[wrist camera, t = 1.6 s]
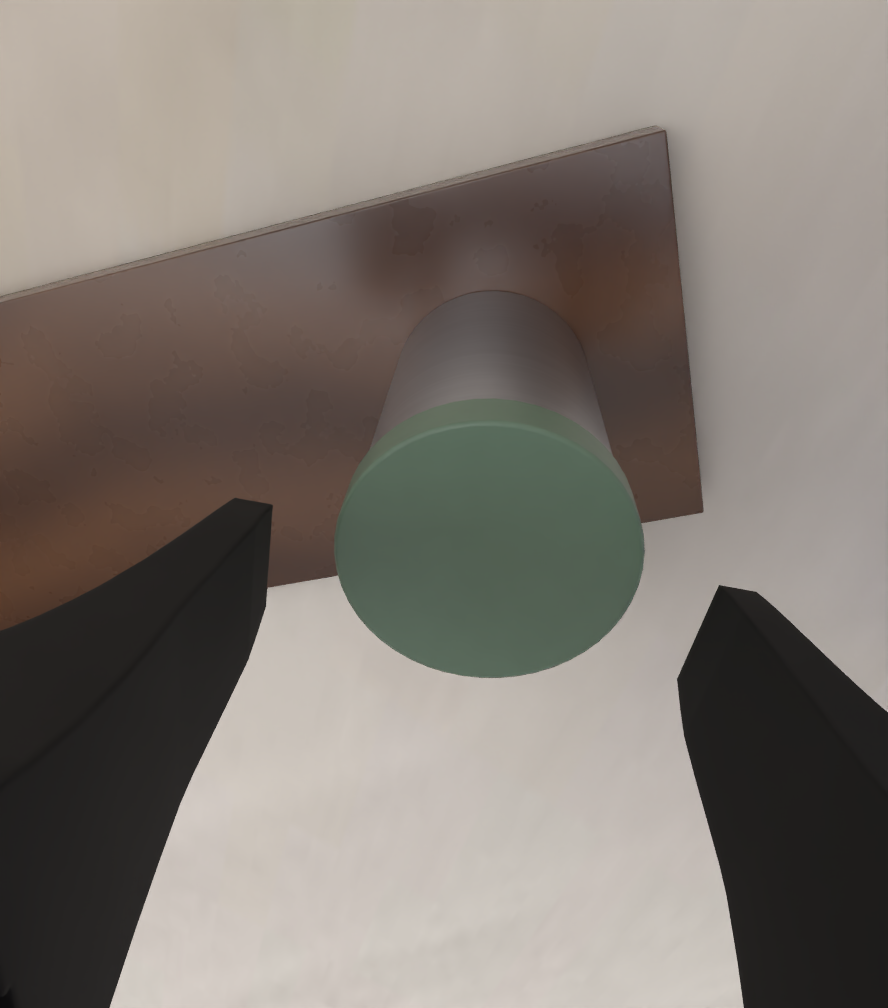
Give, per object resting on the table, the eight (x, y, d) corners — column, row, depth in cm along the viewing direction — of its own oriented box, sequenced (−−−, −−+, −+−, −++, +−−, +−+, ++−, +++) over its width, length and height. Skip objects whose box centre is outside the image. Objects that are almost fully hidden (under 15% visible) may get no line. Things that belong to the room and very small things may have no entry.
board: (694, 492, 23) (704, 513, 22) (-12, 617, 27) (-32, 639, 26) (656, 124, 18) (666, 129, 17) (-195, 346, 22) (-229, 361, 21)
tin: (608, 455, 21) (662, 657, 14) (419, 491, 22) (382, 697, 15) (576, 261, 18) (623, 389, 11) (365, 311, 19) (289, 457, 12)
